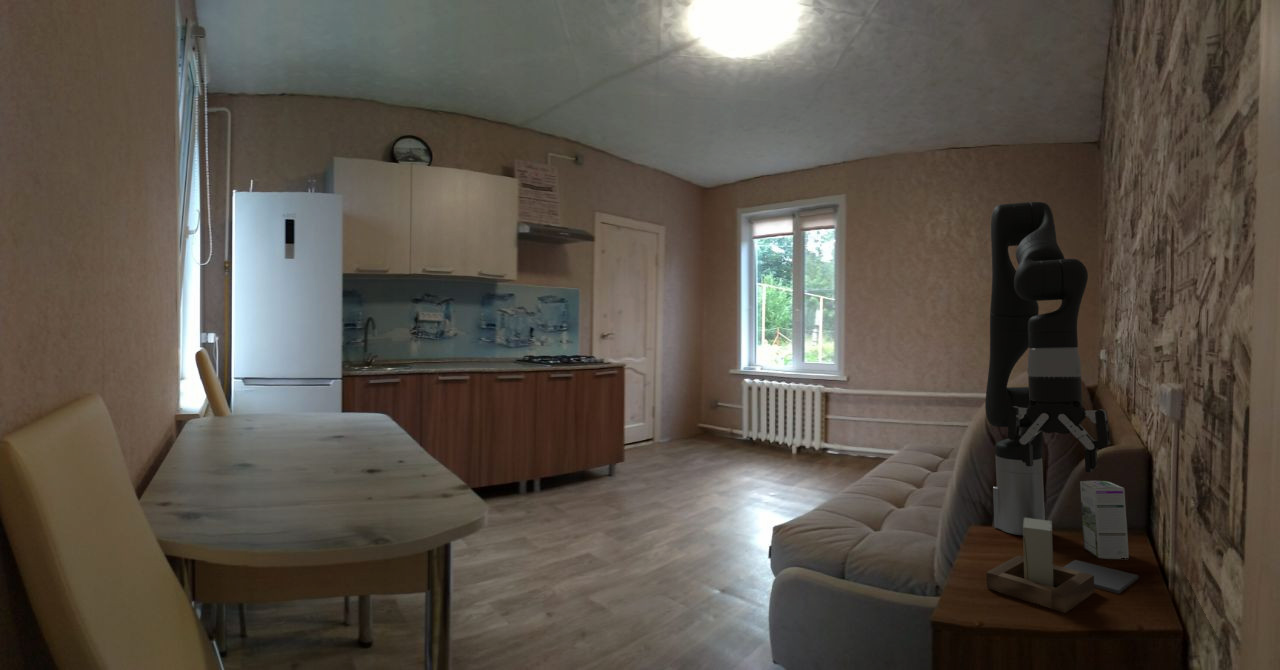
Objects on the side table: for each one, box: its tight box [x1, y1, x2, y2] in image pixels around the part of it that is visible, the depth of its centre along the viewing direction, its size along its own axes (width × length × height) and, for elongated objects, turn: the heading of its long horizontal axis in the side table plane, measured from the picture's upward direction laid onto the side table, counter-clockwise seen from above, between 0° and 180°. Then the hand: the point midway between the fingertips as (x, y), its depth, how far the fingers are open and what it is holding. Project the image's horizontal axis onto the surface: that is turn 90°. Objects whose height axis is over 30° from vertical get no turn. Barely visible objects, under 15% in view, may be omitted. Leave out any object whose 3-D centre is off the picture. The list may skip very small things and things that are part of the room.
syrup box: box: [1079, 480, 1130, 560], centre depth 121 cm, size 6×6×14 cm
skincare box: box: [1022, 517, 1055, 587], centre depth 106 cm, size 6×4×12 cm
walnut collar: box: [985, 555, 1095, 614], centre depth 106 cm, size 12×12×3 cm
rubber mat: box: [1063, 559, 1139, 595], centre depth 111 cm, size 10×10×1 cm
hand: (1058, 468), depth 102 cm, fingers open, 8 cm apart
